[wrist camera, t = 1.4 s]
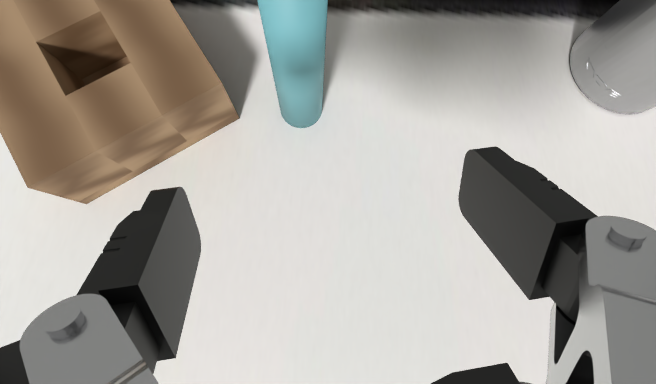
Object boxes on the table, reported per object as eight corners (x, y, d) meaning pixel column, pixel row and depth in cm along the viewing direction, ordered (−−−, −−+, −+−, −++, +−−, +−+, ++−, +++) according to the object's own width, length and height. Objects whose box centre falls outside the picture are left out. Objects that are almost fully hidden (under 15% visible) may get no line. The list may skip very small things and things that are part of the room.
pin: (307, 82, 32) (302, -79, 17) (329, 114, 31) (344, -23, 16) (272, 102, 31) (236, -47, 16) (294, 135, 30) (276, 12, 16)
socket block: (163, -3, 33) (130, -62, 27) (239, 118, 31) (221, 82, 25) (15, 68, 31) (-55, 21, 25) (86, 204, 29) (27, 187, 23)
